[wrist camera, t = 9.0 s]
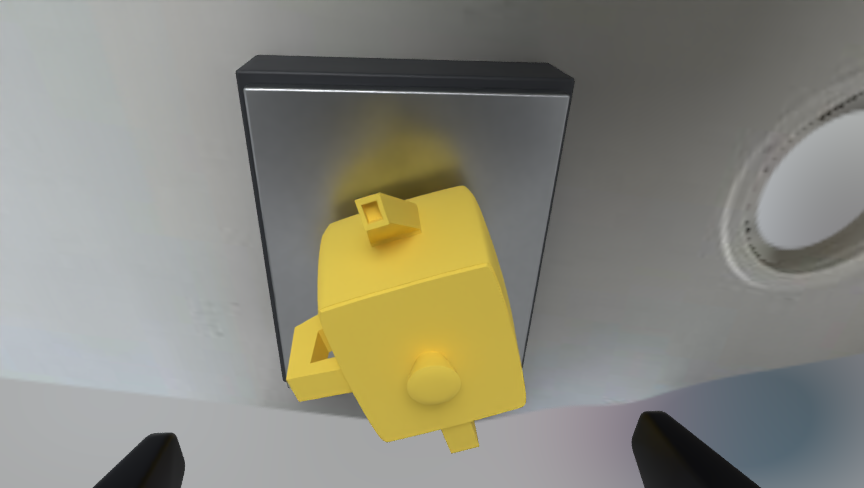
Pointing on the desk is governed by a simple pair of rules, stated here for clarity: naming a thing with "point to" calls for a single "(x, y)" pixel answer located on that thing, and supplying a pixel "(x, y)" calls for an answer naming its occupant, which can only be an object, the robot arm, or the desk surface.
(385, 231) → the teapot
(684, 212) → the desk surface
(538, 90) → the scale
